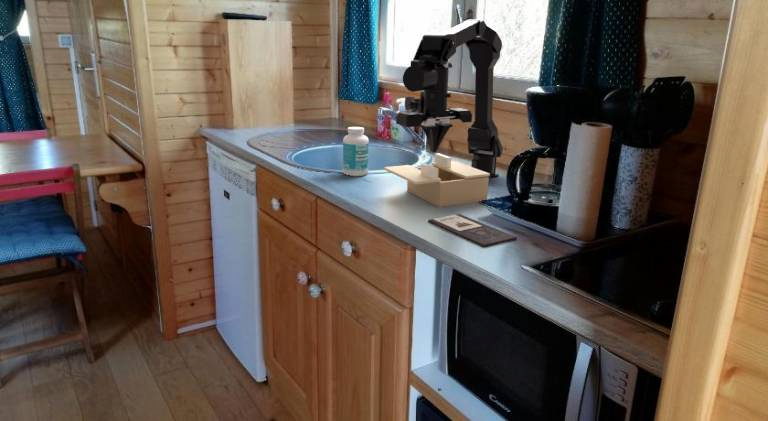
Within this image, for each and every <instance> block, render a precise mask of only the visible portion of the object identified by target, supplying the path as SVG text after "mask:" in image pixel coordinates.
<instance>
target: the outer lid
mask: <svg viewBox="0 0 768 421" xmlns="http://www.w3.org/2000/svg"><path fill="white" fill-rule="evenodd" d="M420 167H421V170H419V169H417V167H414V166H412V165H409V164H405V165H393V166H384V167H383V170H385V171H386V172H389V173H391V174H392V175H395V176H397V177H399V178H401V179H403V180H405V181H406V182H407V181H409V182H411V183H413V184H425V183H433V182H441V179H440V178H438V168H436V167H434V166H433V165H431V164H429V163H425V162H424V163H420Z"/></svg>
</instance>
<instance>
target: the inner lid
mask: <svg viewBox="0 0 768 421" xmlns="http://www.w3.org/2000/svg"><path fill="white" fill-rule="evenodd" d="M430 165H431V166H436V167H438V168H441V169H443V170H446V171H448V172H451V173H453V174H456V175H458V176H461V177H463V178H466V179H468V178H477V177H486V176H490V173H487V172H484V171H481V170H478V169H476V168H473V167H471V166H470V165H467V164H464V163H462V162H459V161H456V160H452V157H451V156H448V155H445V154H442V153H439V152H438V153H437V152H435V153H434V162H431V164H430Z"/></svg>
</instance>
